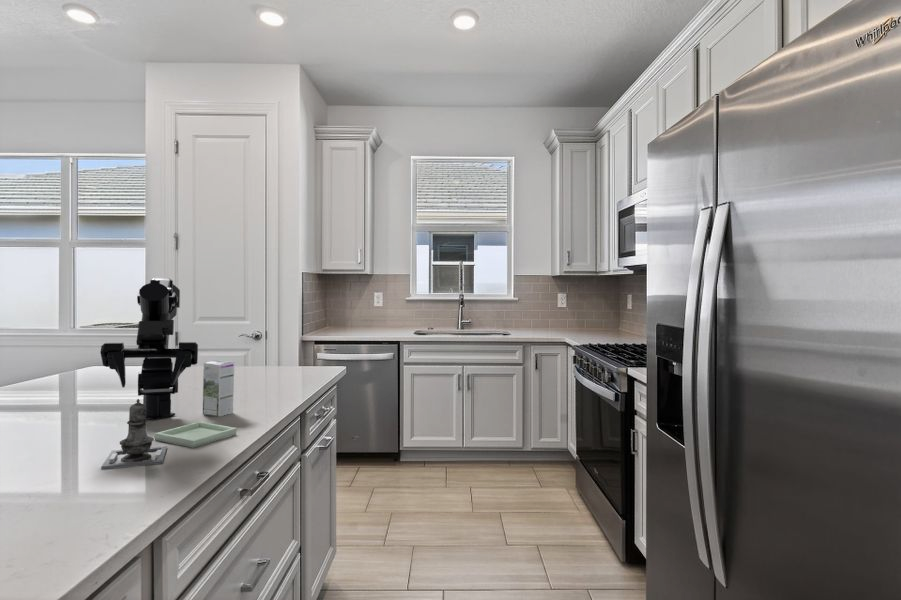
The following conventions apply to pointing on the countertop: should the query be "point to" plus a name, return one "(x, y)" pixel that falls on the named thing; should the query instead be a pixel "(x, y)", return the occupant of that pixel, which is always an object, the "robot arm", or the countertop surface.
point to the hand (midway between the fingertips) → (148, 385)
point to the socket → (114, 454)
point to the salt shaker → (136, 435)
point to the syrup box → (218, 388)
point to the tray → (195, 434)
